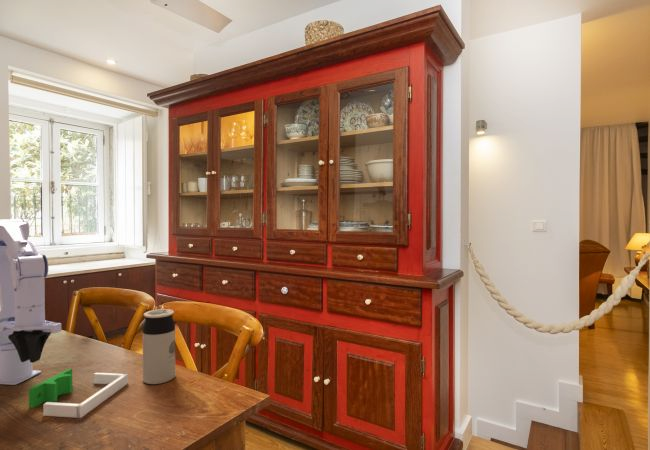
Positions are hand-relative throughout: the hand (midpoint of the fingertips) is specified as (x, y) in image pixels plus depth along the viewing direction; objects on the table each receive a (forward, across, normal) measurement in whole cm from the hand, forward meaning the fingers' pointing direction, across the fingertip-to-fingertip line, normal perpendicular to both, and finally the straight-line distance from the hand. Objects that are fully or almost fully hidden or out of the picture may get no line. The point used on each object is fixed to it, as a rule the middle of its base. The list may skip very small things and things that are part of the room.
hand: (30, 360), depth 90 cm
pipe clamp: (+9, +6, 0) cm, 11 cm away
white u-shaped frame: (+8, +15, 0) cm, 17 cm away
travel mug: (+9, +26, +12) cm, 30 cm away
